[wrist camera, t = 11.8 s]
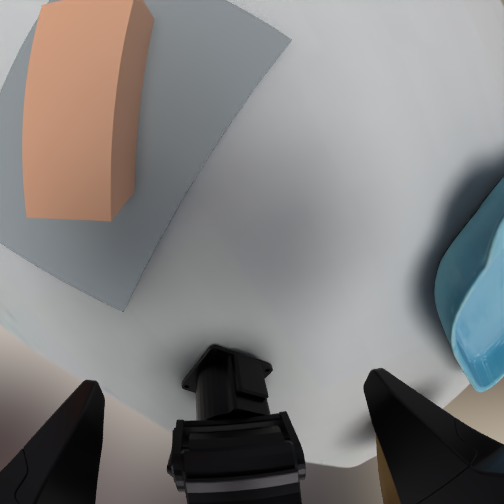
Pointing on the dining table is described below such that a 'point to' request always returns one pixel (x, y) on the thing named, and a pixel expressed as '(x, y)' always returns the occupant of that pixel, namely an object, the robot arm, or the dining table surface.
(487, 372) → the casserole dish
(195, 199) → the dining table surface
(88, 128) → the block
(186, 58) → the mat
